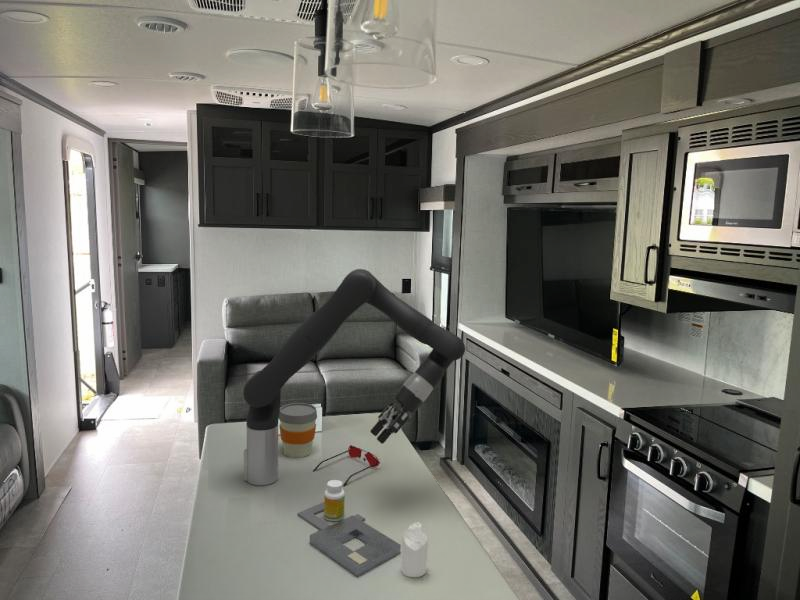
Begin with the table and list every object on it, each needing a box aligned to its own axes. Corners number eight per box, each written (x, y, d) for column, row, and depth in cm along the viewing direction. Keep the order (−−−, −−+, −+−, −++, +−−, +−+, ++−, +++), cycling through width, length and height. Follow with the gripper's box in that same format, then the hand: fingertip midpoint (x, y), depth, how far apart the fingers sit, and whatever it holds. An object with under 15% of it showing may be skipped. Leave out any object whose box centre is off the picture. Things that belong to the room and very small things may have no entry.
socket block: (309, 542, 150) (309, 534, 150) (352, 522, 160) (352, 514, 160) (357, 576, 138) (357, 567, 138) (400, 552, 148) (400, 544, 148)
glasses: (380, 470, 192) (381, 455, 191) (343, 487, 180) (344, 472, 179) (349, 456, 201) (350, 442, 200) (312, 472, 189) (312, 457, 188)
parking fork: (330, 537, 153) (330, 535, 153) (297, 515, 163) (297, 513, 163) (365, 520, 162) (365, 518, 162) (332, 500, 171) (332, 498, 171)
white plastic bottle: (403, 529, 136) (402, 516, 142) (401, 577, 139) (400, 562, 144) (429, 530, 137) (427, 517, 142) (427, 577, 139) (425, 563, 144)
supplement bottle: (340, 523, 160) (341, 489, 158) (321, 520, 161) (321, 486, 159) (346, 512, 165) (347, 479, 163) (327, 510, 166) (328, 477, 164)
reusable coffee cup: (297, 441, 210) (298, 400, 208) (324, 451, 203) (325, 408, 201) (270, 452, 200) (270, 409, 198) (297, 463, 193) (297, 419, 191)
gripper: (397, 380, 176) (360, 423, 173) (411, 388, 162) (371, 435, 159) (415, 396, 177) (379, 440, 175) (430, 405, 163) (391, 452, 161)
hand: (375, 437), depth 167 cm, fingers open, 8 cm apart
